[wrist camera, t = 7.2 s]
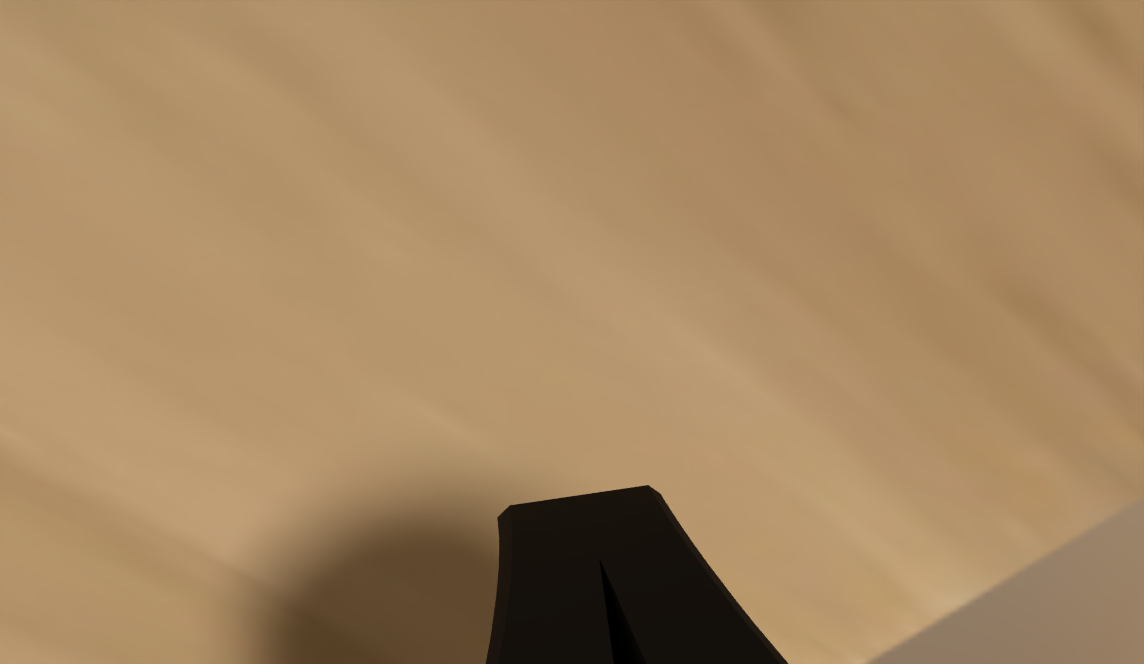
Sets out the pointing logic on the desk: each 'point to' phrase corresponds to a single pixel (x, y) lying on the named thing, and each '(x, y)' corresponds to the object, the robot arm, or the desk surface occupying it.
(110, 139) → the desk surface
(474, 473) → the desk surface
